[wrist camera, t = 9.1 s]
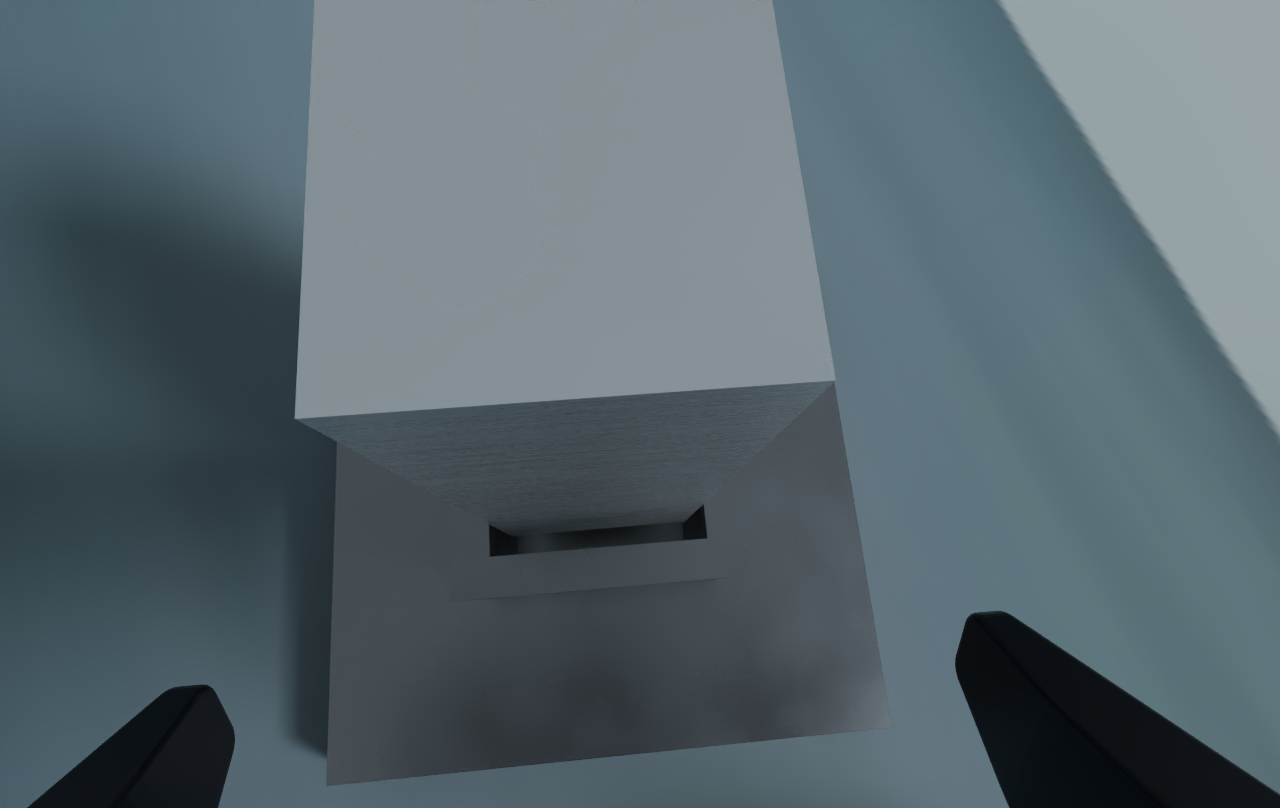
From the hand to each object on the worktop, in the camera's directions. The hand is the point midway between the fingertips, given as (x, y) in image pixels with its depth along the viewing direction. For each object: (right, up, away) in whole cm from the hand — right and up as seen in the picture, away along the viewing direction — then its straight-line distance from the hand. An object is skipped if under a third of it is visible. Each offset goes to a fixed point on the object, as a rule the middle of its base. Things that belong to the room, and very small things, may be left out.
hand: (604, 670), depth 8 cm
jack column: (-1, +2, +7) cm, 7 cm away
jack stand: (-1, +1, +12) cm, 12 cm away
